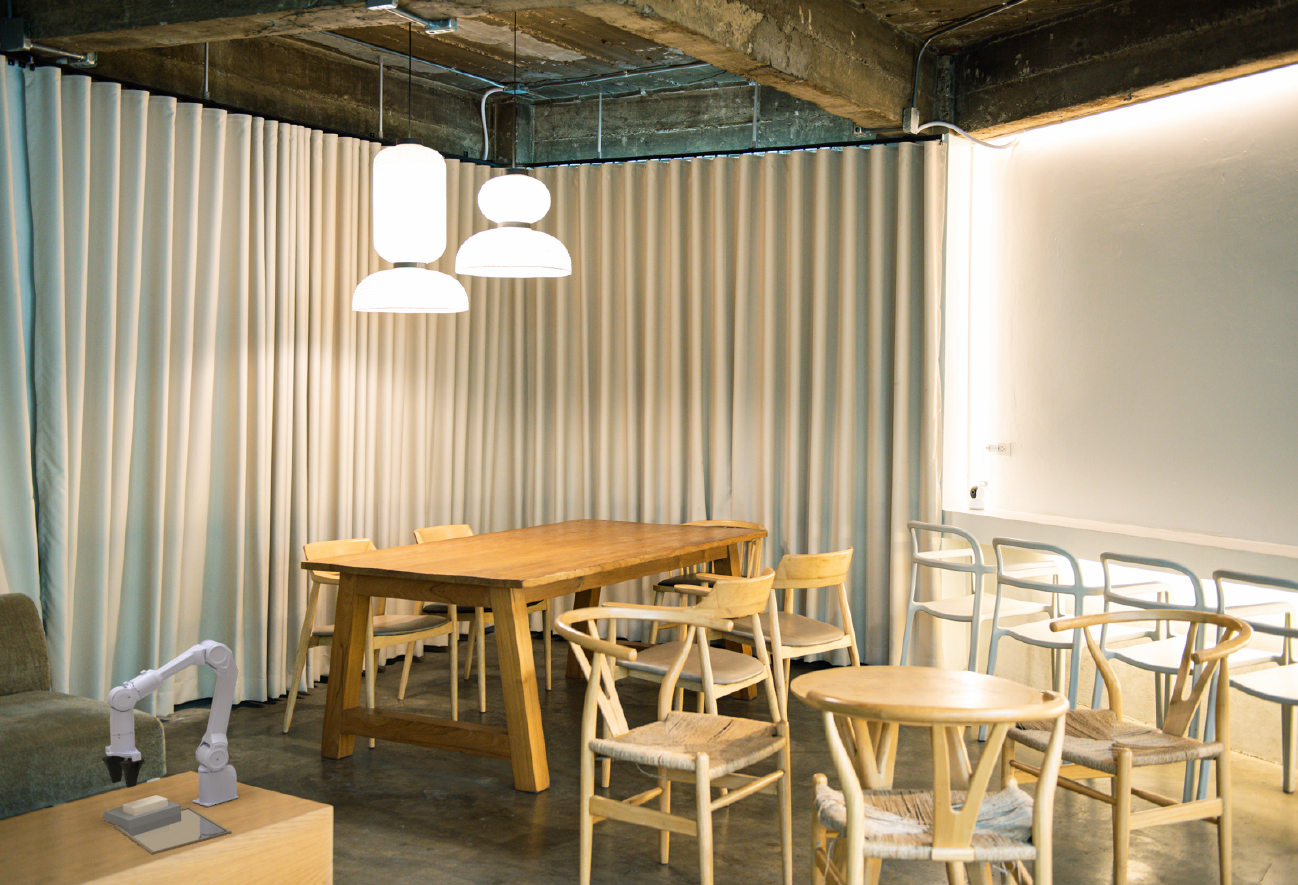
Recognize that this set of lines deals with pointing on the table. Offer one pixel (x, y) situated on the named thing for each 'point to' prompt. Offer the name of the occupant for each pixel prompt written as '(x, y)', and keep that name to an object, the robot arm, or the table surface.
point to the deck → (140, 816)
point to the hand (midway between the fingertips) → (123, 784)
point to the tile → (145, 805)
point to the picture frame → (174, 831)
